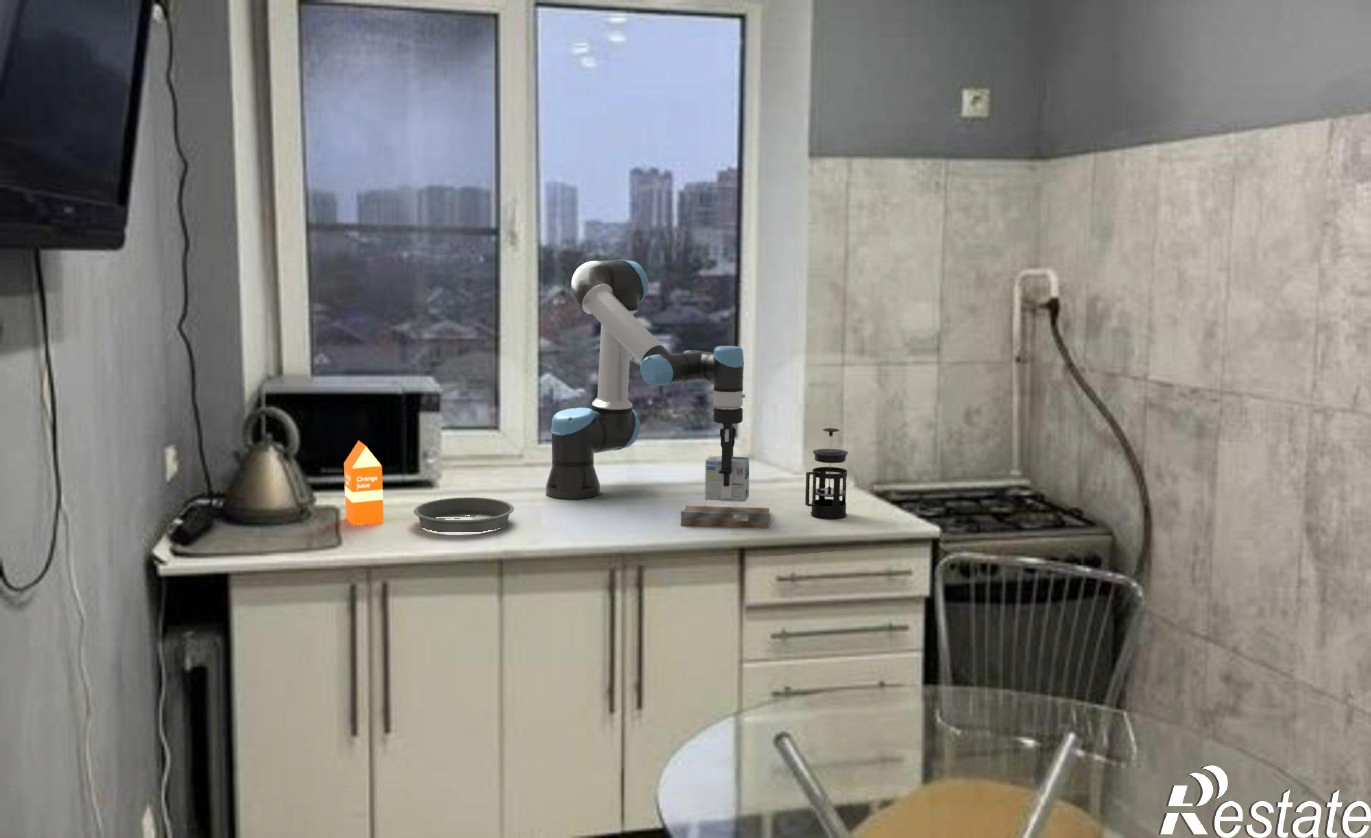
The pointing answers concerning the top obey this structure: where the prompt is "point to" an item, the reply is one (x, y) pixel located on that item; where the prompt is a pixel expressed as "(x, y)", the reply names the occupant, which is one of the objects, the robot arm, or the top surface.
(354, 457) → the orange juice
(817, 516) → the french press
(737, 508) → the shelf board
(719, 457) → the light bulb box
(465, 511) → the cake pan
